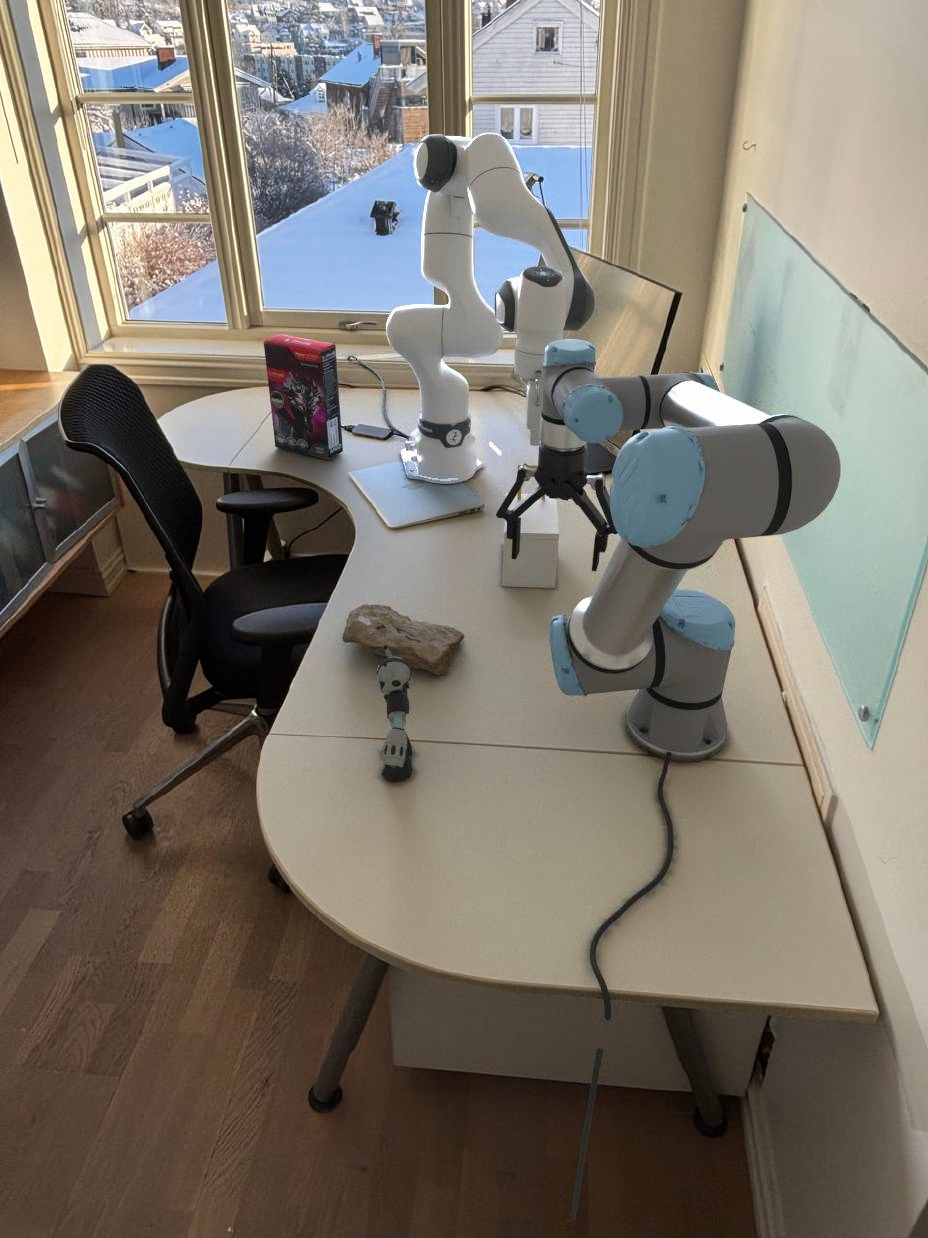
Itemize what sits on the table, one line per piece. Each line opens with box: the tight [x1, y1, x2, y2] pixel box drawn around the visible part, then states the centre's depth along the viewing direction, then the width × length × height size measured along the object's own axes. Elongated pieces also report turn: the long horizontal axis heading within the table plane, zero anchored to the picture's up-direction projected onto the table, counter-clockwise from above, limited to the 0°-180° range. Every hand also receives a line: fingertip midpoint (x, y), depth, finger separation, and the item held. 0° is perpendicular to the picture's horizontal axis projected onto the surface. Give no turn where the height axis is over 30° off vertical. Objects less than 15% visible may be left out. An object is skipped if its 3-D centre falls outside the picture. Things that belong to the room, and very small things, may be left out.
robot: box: [375, 645, 413, 783], centre depth 131 cm, size 20×5×20 cm, turn 3°
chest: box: [501, 537, 560, 589], centre depth 181 cm, size 16×10×10 cm, turn 177°
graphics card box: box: [263, 333, 344, 460], centre depth 223 cm, size 17×7×27 cm, turn 62°
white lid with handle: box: [503, 463, 560, 540], centre depth 176 cm, size 16×10×8 cm, turn 177°
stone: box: [341, 603, 465, 677], centre depth 158 cm, size 21×15×6 cm
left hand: (534, 434), depth 176 cm, fingers open, 8 cm apart
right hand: (554, 561), depth 155 cm, fingers open, 13 cm apart
